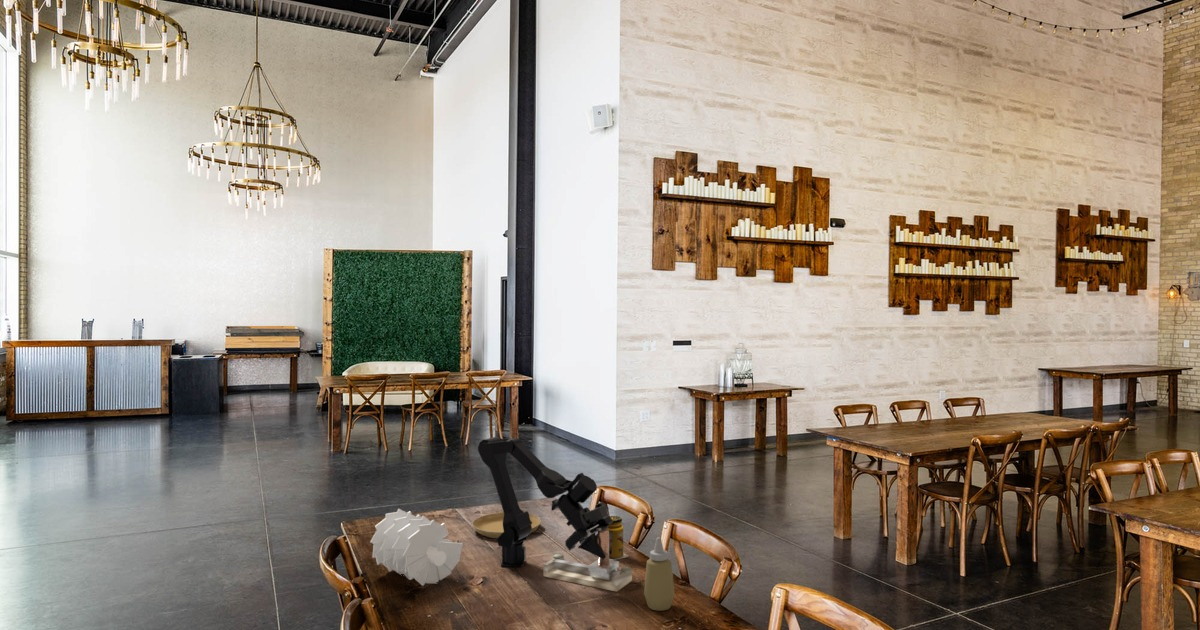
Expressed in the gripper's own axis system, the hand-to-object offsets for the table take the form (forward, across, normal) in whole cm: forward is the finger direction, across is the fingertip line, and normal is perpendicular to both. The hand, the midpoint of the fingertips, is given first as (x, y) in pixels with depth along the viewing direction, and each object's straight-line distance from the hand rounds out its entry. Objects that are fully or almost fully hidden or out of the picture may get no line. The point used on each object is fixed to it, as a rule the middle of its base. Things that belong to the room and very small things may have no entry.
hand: (607, 556), depth 205 cm
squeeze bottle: (+20, -8, -8) cm, 23 cm away
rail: (0, 0, +10) cm, 10 cm away
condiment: (-1, +20, +12) cm, 23 cm away
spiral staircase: (-32, -22, +43) cm, 58 cm away
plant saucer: (-34, +26, +45) cm, 62 cm away
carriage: (+3, 0, +5) cm, 6 cm away
